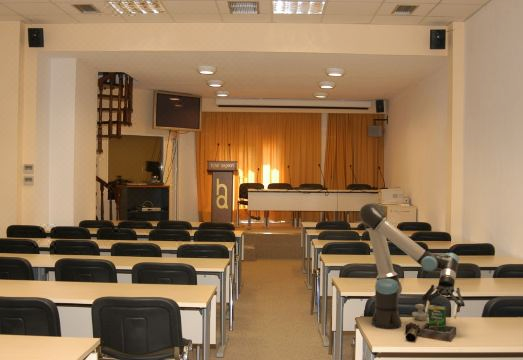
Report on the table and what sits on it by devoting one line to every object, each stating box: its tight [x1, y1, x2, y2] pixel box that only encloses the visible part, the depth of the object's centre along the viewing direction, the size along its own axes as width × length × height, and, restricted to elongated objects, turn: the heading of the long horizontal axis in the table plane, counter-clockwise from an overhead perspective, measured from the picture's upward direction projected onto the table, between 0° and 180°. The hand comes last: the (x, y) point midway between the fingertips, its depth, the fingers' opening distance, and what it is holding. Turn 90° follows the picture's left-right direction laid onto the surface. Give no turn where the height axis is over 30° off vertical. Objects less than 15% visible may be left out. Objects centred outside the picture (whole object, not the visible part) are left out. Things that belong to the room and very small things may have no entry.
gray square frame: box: [418, 322, 457, 343], centre depth 244 cm, size 14×14×4 cm
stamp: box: [411, 303, 429, 321], centre depth 274 cm, size 9×7×8 cm
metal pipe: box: [404, 322, 421, 343], centre depth 241 cm, size 18×7×6 cm, turn 155°
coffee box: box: [428, 304, 447, 332], centre depth 244 cm, size 8×3×13 cm, turn 59°
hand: (440, 315), depth 244 cm, fingers open, 13 cm apart
